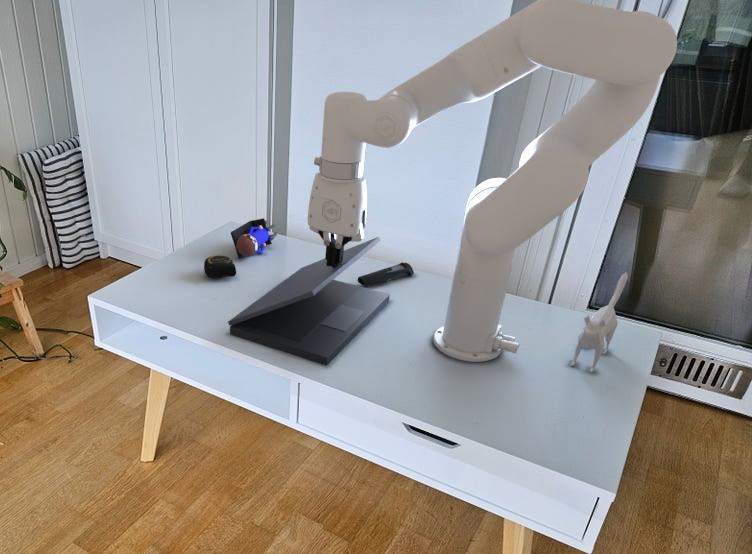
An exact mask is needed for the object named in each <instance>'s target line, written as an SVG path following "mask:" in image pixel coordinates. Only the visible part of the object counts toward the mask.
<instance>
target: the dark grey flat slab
mask: <svg viewBox="0 0 752 554" xmlns="http://www.w3.org/2000/svg"><path fill="white" fill-rule="evenodd" d="M390 295H391V294H390V293H386V292H382V291H379V290H375V289H371V288H367V287H364V286H359V285H356V284H352V283H347V282H344V281H340V280H336V279H333V280H332V281H331V282H330V283H328V284H327V285H326V286H325V287H324V288H322V289H321V290H320V291H319V292H317V293H316V294H315V295H314V296H311V297H308V298H306V299H303V300H300V301H297V302H295V303H292V304H289V305H286V306H284V307H281V308H278V309H275V310H272V311H270V312H267V313H264V314H261V315H259V316H256V317H253V318H250V319H248V320H245V321H242V322H239V323H236V324H234V325H231V326H229V335H230V336H233V337H236V338H240V339H241V340H246V341H248V342H252V343H253V344H254V343H255V344H258V345H261V346H263V347H267V348H270V349H273V350H275V351H279V352H282V353H285V354H288V355H292V356H294V357H298V358H301V359H304V360H307V361H310V362H313V363H316V364H318V365H322V366H325V367H327V366H329V364H330V363H331V362H333V360H334V359H335V358H336V357H337V356H339V354H340V353H341V352H342V351H343V350H344V349H345V348H346V347H347V345H349V344H350V343H351V342H352V340H353V339H354V338H355V337H356V336H357V335H358V334H359V333H360V332H361V331H362V330H363V329H364V328H365V327H366V326H367V325H368V324H369V323H370V322H371V321H372V320H373V319H374V318H375V317H376V316H377V315H378V314H379V312H381V311H382V309H384V307H385V306H386V305H387V304H388V303H389V302H390V298H391V297H390Z"/></svg>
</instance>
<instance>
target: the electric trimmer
mask: <svg viewBox="0 0 752 554" xmlns="http://www.w3.org/2000/svg"><path fill="white" fill-rule="evenodd" d="M414 274H415V272H414V269H413V267H412V266H411V265H410V264H409V263H408V262H400V263H399V264H396V265H392V266H389V267H386V268H383V269H379V270H376V271H373V272H370V273H367V274H363V275H360V276H358V277H357V283H358V284H360V285H362V287H368V286H376V285H380V284H385V283H388V281H389V280H390V281H391V280H394V279H396V278H401V277H404V276H408V277H412V276H413V275H414Z"/></svg>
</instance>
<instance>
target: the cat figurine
mask: <svg viewBox="0 0 752 554" xmlns="http://www.w3.org/2000/svg"><path fill="white" fill-rule="evenodd" d="M628 278H629V276H628V272H627V271H625V272H624V273H622V275H621V276H620V277H619V280H618V282H617V284H616V287H615V289H614V293H613V295H612V297H611V299H610V300H609V303H608V304H607V305H605V306H602V307H600V308H599V309H598V310H597V311H596V312H595V313H593V314H592V316H591V318H590V315H587V316H586V317H584V318H583V320H584V323H585V325H584V326H583V331H582V332H581V333H580V334H579V335H578V336H577V342H576V346H575V348H574V356H573V360H572V362H571V364H570V366H571V367H574V366H575V365H576V362H577V360H578V358H579V355H580V353H581V352H582V349H583V348H584V349H587V350H594V351H595V353H594V356H593V361H592V365H591V368H590V370H589V373H591V374H593V372H594V371H595V369H596V366H597V364H598V362H599V360H600V358H601V356H602V354H603V355H606V354H607V352H608V349H609V347H610V344H611V341H612V339H613V336H614V334H615V331H616V329H617V327H618V322H619V321H618V319H617V315H616V310H615V308H614V307H615V305H616V304H617V302H618V300H619V299H620V297H621V294H622V293H623V291H624V288H625V286H626V283H627V281H628ZM605 341H606V346H605ZM604 347H605V350H604ZM603 350H604V351H603Z"/></svg>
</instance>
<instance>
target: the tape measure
mask: <svg viewBox="0 0 752 554" xmlns="http://www.w3.org/2000/svg"><path fill="white" fill-rule="evenodd" d="M203 271H204V274H205V275H206V277H207V278H208V279H223V278H230V277H231V278H232V277H235V276H236V275H237V268H236V265H235V263H234V261H233V259H232V258H231V257H229V256H227V255H223V254H217V255H211V256H208V257H206V258H205V260H204V262H203Z"/></svg>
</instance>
